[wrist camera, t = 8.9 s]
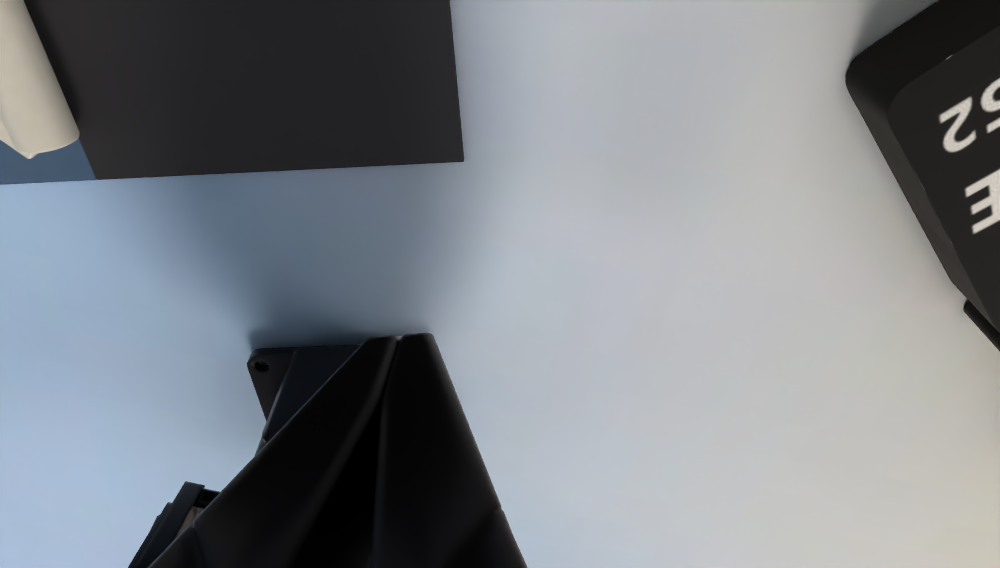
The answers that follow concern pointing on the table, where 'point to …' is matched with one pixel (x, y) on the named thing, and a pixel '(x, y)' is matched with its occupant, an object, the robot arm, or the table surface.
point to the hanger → (29, 88)
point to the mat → (245, 86)
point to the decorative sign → (944, 137)
